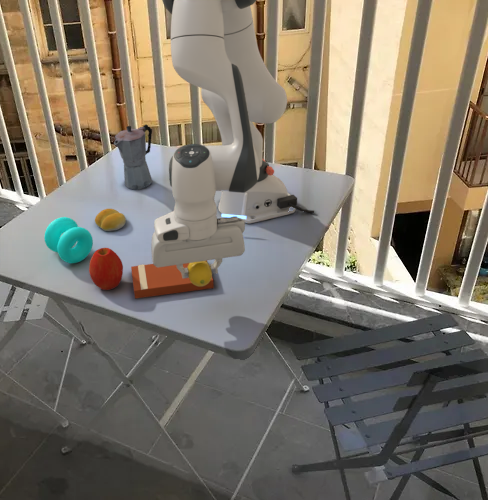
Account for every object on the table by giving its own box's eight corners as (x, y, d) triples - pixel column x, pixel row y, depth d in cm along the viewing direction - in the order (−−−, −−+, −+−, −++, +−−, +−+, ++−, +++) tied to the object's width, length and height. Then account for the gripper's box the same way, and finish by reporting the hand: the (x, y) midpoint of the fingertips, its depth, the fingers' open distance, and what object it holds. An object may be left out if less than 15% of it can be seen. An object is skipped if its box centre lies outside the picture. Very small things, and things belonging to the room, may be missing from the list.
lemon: (186, 274, 129) (184, 255, 126) (208, 270, 129) (207, 252, 126) (191, 294, 123) (190, 275, 120) (215, 290, 123) (213, 271, 120)
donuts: (78, 241, 156) (72, 210, 151) (97, 255, 150) (91, 223, 144) (46, 255, 151) (39, 223, 146) (64, 271, 145) (57, 238, 139)
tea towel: (206, 264, 143) (205, 256, 142) (213, 288, 135) (213, 279, 133) (132, 274, 142) (131, 266, 140) (135, 298, 133) (133, 290, 132)
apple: (115, 270, 143) (110, 235, 137) (131, 286, 138) (126, 250, 132) (86, 282, 140) (79, 246, 134) (101, 299, 134) (94, 262, 128)
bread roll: (109, 235, 158) (107, 223, 156) (91, 224, 164) (89, 212, 161) (132, 224, 162) (131, 212, 160) (114, 213, 168) (112, 201, 166)
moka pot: (111, 188, 181) (103, 129, 170) (144, 170, 191) (138, 114, 180) (132, 196, 176) (125, 136, 165) (165, 177, 185) (160, 119, 174)
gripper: (241, 207, 121) (241, 259, 129) (147, 220, 119) (153, 272, 127) (248, 222, 116) (248, 276, 123) (150, 236, 114) (156, 289, 122)
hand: (199, 274), depth 125 cm, fingers closed on lemon, 5 cm apart
